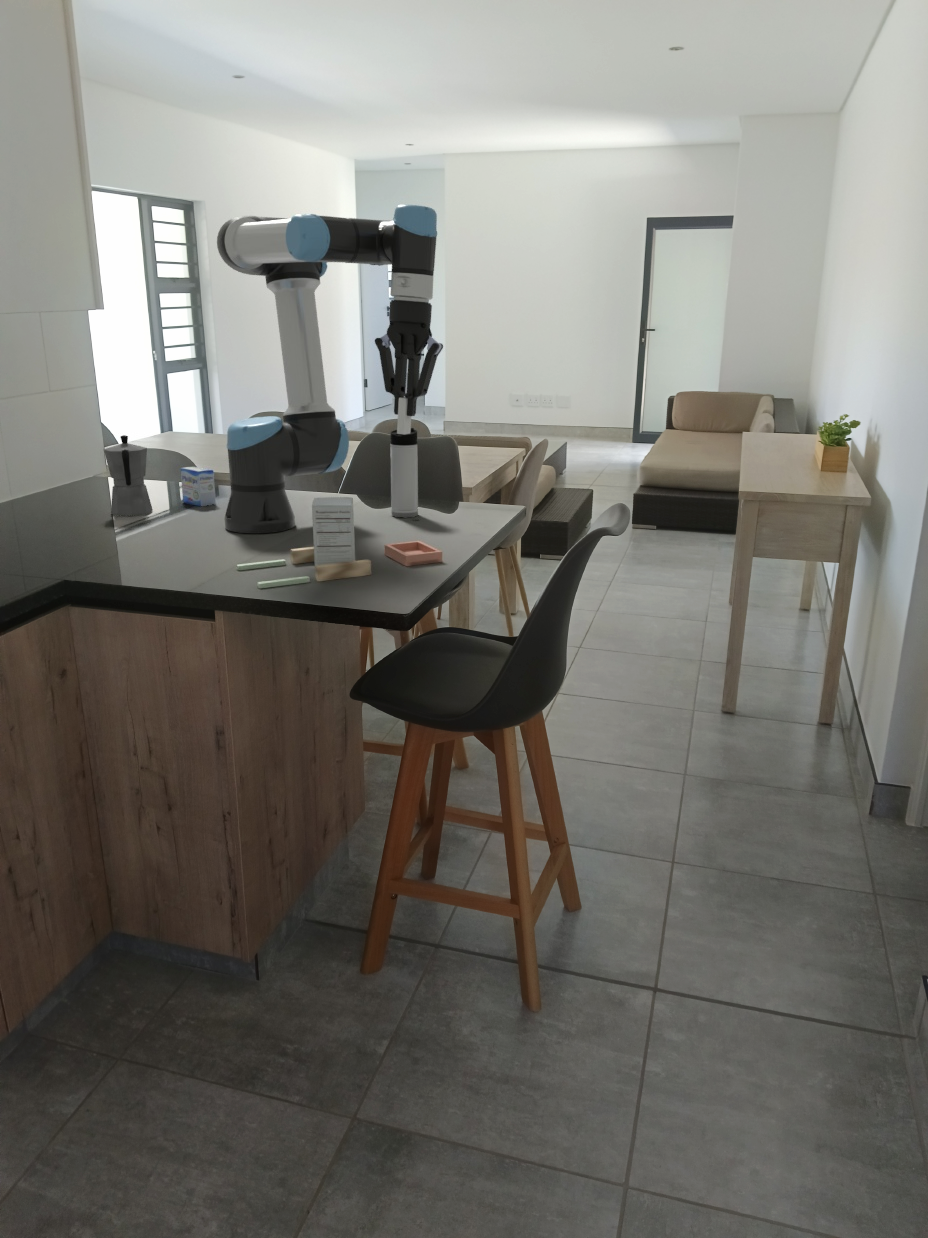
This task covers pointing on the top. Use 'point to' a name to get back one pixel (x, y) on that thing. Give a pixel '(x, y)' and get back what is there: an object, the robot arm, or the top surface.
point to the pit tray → (413, 553)
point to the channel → (331, 566)
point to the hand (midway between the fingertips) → (403, 433)
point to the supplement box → (333, 530)
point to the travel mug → (404, 474)
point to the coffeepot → (128, 479)
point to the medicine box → (198, 486)
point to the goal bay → (273, 582)
